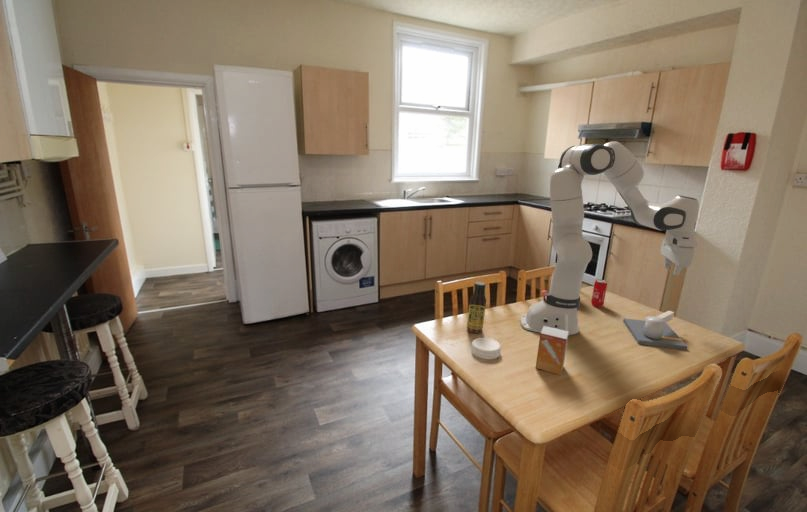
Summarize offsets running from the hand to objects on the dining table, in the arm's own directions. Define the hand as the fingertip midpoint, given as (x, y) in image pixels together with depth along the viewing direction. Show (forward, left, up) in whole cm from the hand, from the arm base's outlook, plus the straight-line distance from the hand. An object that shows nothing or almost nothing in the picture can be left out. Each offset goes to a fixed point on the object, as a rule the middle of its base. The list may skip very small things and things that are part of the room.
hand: (671, 271), depth 154 cm
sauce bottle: (-74, -28, -24) cm, 83 cm away
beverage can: (-21, +15, -24) cm, 35 cm away
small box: (-48, -48, -24) cm, 72 cm away
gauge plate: (-6, -11, -24) cm, 27 cm away
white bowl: (-69, -44, -24) cm, 85 cm away
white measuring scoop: (-4, -12, -22) cm, 25 cm away
